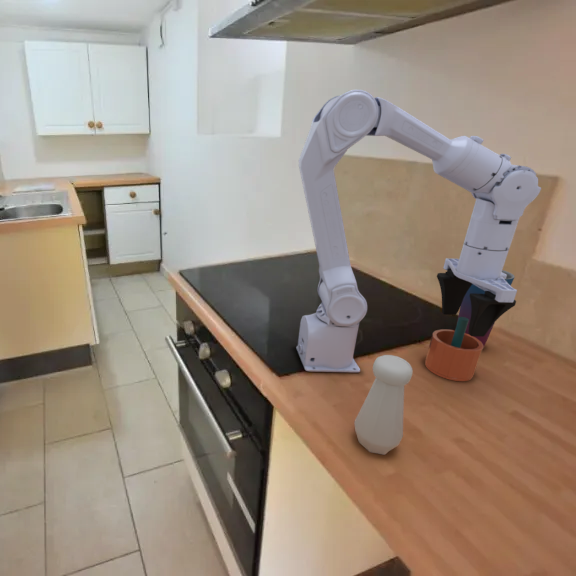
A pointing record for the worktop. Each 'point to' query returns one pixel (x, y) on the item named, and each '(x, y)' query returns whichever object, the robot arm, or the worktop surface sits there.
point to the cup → (466, 306)
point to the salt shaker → (384, 406)
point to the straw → (459, 332)
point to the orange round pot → (453, 356)
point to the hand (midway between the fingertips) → (461, 324)
